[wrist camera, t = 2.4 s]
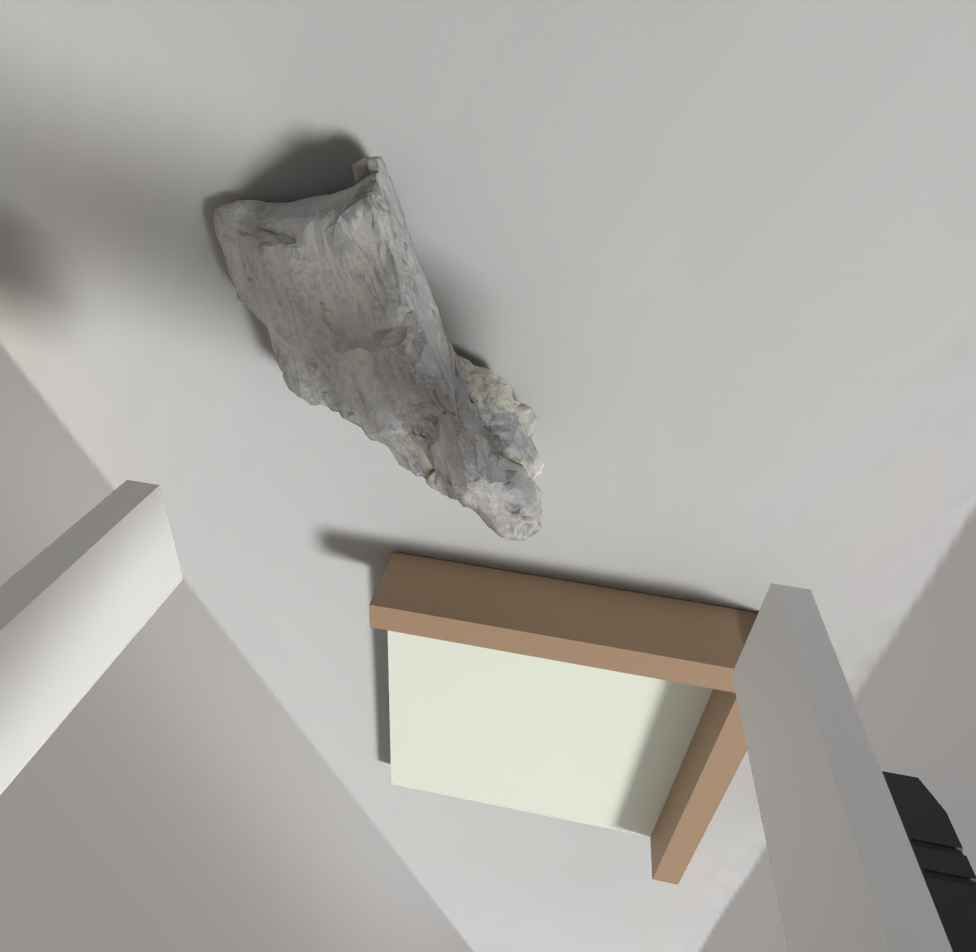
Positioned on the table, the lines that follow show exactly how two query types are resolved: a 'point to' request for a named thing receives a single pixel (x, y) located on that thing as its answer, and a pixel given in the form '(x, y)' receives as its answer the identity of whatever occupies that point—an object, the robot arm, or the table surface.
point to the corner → (563, 699)
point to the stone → (381, 343)
